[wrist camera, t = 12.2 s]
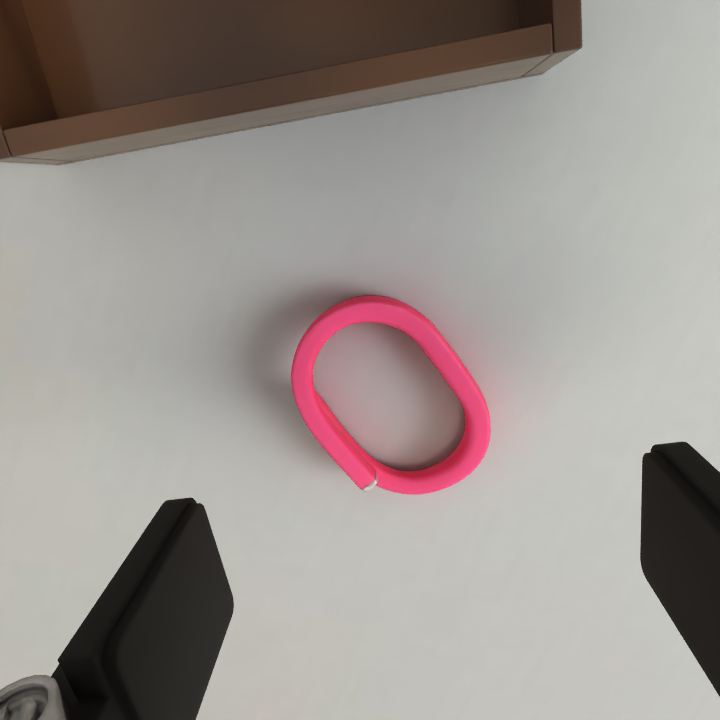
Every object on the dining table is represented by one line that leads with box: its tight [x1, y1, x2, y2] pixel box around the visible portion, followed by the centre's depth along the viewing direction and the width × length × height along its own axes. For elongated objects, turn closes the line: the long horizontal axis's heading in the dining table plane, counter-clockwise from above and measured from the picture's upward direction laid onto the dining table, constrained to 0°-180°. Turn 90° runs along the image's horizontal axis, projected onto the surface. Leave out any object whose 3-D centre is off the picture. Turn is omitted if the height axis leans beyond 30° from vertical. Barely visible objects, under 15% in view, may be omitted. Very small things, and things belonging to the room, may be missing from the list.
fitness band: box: [291, 296, 490, 494], centre depth 19 cm, size 8×6×2 cm
